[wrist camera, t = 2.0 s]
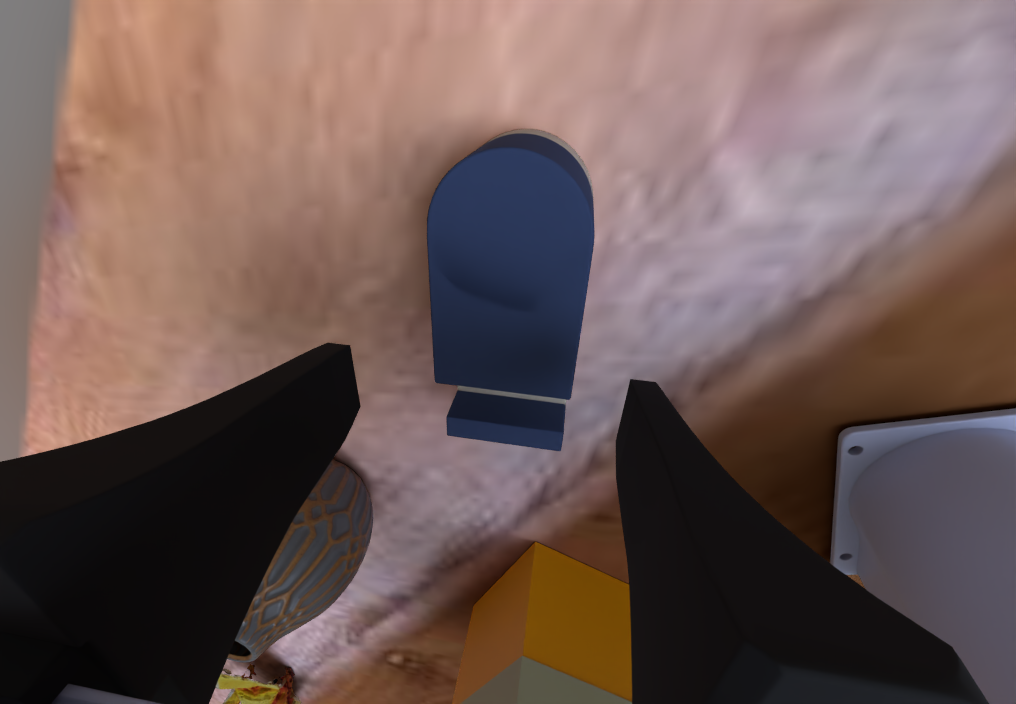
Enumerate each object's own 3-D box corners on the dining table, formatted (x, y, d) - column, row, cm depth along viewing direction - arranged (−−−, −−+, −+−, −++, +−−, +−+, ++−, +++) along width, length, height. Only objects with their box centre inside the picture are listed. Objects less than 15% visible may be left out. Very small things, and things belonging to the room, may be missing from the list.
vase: (369, 537, 28) (291, 704, 20) (264, 490, 27) (142, 647, 20) (407, 473, 24) (327, 649, 17) (286, 416, 23) (146, 576, 16)
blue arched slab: (564, 404, 20) (559, 475, 17) (463, 391, 21) (438, 457, 17) (603, 133, 14) (607, 153, 11) (461, 124, 15) (421, 140, 11)
